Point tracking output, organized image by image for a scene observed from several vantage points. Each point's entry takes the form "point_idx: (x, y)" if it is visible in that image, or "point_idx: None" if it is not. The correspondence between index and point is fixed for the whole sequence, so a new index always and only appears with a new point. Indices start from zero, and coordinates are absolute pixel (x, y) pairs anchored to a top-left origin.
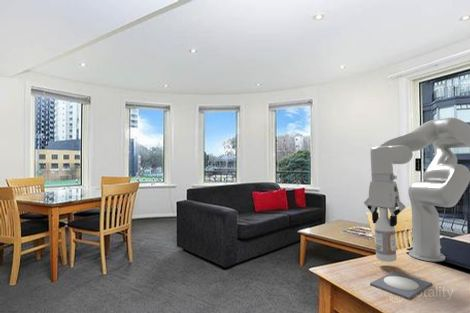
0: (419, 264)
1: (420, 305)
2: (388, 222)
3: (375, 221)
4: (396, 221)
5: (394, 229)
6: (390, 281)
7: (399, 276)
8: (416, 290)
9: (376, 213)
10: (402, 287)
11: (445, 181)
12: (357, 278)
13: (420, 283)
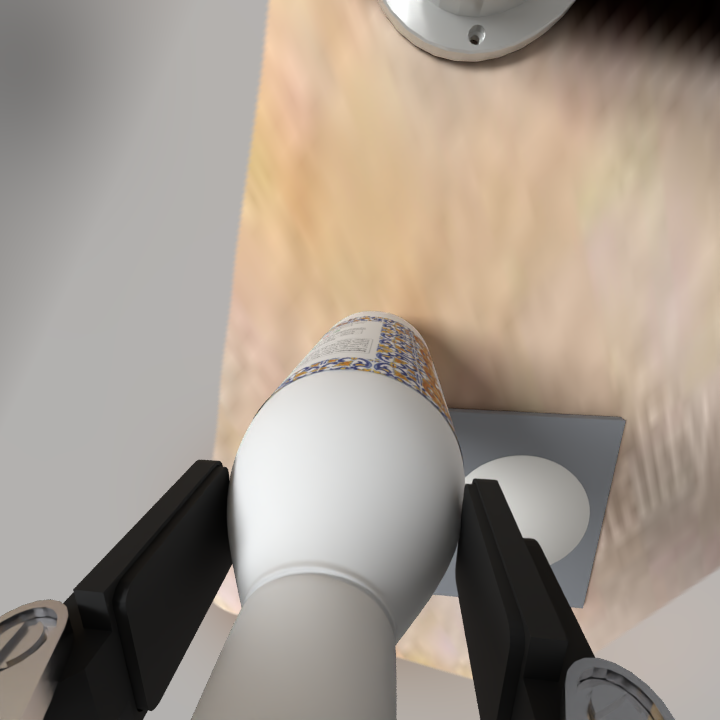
0: (495, 164)
1: (622, 614)
2: (427, 600)
3: (225, 560)
4: (544, 576)
5: (462, 462)
6: None
7: (487, 455)
8: (589, 539)
9: (140, 653)
10: None
11: None
12: None
13: (585, 464)
